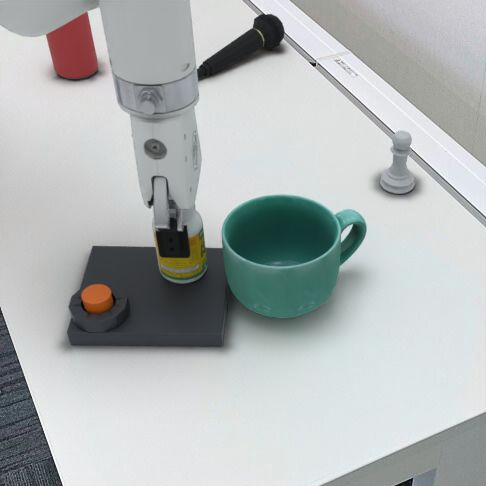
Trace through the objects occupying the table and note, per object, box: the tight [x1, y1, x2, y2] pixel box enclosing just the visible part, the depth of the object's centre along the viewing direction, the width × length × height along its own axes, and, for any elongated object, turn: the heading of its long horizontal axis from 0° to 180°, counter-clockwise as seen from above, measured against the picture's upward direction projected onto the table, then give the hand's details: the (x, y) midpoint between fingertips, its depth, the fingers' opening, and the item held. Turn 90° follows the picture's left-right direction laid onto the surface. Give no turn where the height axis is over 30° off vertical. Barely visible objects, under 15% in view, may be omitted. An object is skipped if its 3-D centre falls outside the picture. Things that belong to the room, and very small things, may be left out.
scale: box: [66, 245, 230, 347], centre depth 85 cm, size 16×14×4 cm
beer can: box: [45, 11, 99, 80], centre depth 115 cm, size 7×7×12 cm
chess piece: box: [379, 130, 416, 195], centre depth 101 cm, size 5×5×8 cm
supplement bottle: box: [151, 196, 207, 284], centre depth 84 cm, size 5×5×10 cm
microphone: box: [197, 13, 286, 79], centre depth 123 cm, size 6×6×20 cm
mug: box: [221, 193, 368, 319], centre depth 85 cm, size 17×13×10 cm
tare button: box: [81, 284, 114, 314], centre depth 81 cm, size 3×3×2 cm
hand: (178, 236), depth 84 cm, fingers closed on supplement bottle, 5 cm apart
